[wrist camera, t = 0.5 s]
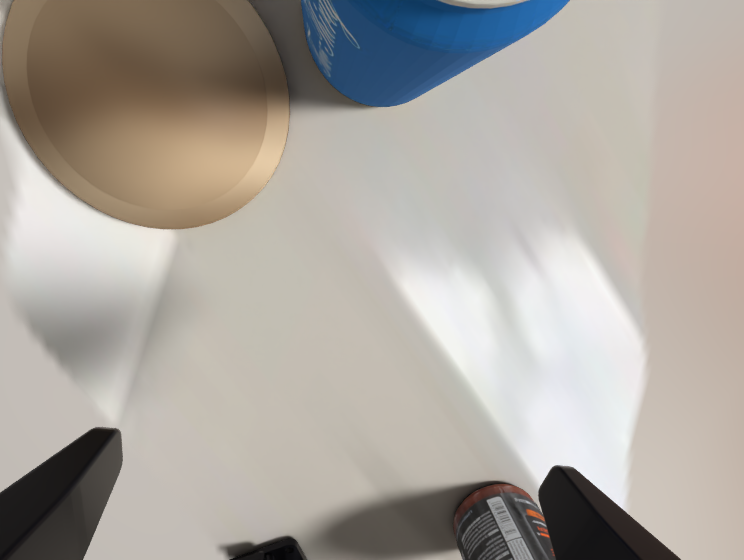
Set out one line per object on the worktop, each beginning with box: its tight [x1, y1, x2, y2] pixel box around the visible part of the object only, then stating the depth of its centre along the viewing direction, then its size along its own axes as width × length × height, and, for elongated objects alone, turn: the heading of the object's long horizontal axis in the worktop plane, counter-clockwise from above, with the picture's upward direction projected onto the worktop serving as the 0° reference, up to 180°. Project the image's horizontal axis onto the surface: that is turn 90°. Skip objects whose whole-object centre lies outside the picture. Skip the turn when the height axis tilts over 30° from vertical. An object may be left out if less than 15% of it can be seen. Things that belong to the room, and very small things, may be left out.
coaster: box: [2, 0, 290, 229], centre depth 16 cm, size 11×11×1 cm
